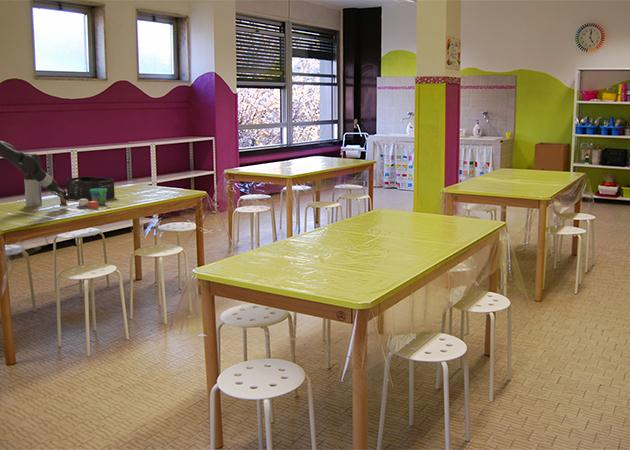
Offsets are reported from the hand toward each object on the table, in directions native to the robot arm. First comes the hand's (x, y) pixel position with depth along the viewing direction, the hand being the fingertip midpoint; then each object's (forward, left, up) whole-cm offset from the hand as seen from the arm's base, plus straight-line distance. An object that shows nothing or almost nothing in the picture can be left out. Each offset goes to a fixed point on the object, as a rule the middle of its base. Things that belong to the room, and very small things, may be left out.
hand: (66, 198), depth 414 cm
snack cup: (+3, +22, -7) cm, 23 cm away
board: (+7, +3, -7) cm, 10 cm away
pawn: (0, -2, -4) cm, 5 cm away
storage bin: (-24, +37, -7) cm, 45 cm away
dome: (+7, +7, -4) cm, 11 cm away
